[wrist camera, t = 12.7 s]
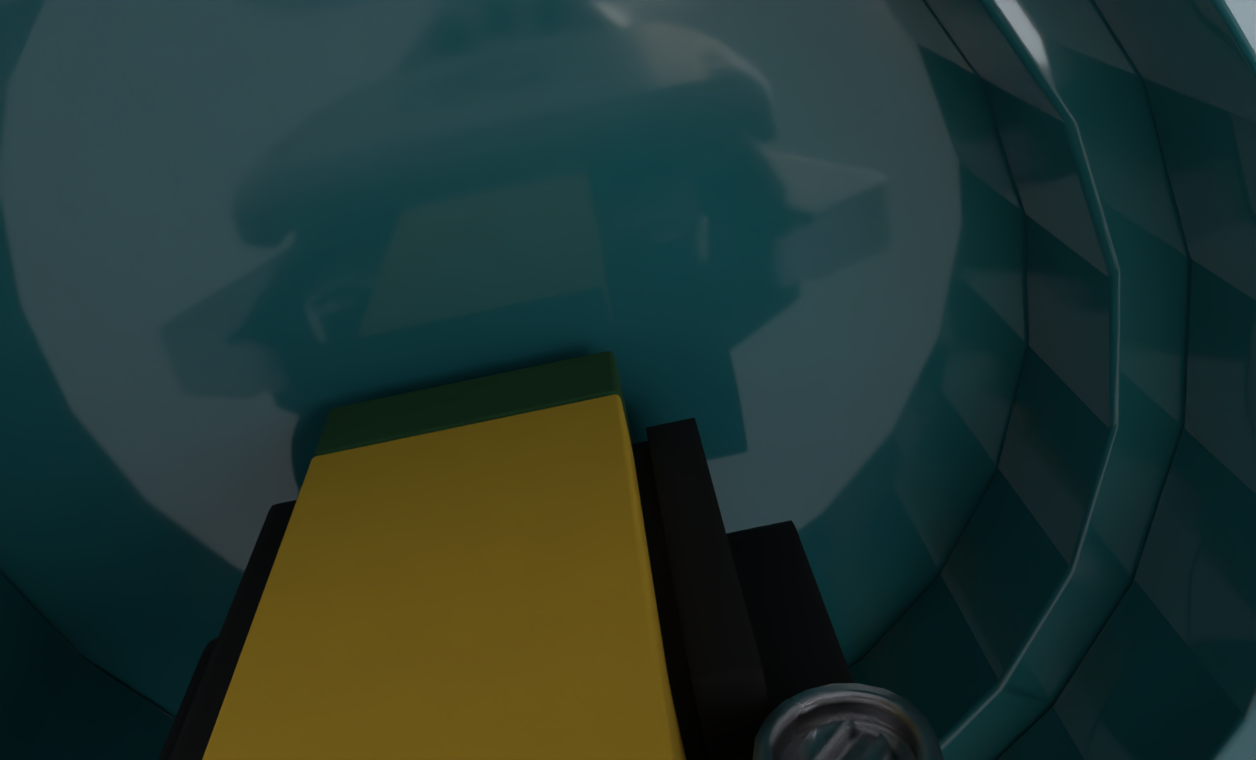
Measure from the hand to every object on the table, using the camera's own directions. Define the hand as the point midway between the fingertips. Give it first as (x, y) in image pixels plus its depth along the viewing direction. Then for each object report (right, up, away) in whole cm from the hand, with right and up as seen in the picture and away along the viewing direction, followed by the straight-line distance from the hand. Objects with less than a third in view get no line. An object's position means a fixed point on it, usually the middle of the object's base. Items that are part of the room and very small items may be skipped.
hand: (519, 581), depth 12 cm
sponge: (0, 0, +1) cm, 1 cm away
